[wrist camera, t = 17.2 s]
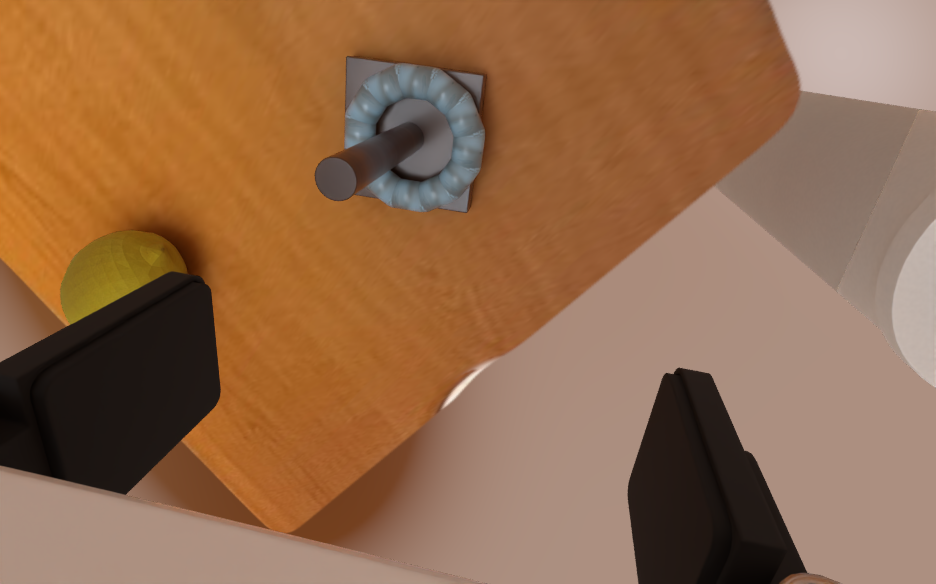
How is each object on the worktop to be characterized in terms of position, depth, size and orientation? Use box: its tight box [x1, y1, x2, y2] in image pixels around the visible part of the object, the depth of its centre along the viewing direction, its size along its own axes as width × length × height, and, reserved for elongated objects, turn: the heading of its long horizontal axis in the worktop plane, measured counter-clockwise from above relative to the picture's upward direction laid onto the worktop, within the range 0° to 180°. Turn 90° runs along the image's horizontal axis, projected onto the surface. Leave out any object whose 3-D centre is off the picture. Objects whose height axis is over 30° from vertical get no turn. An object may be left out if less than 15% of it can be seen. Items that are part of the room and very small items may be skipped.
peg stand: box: [315, 56, 487, 213], centre depth 30 cm, size 9×9×14 cm
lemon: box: [60, 230, 188, 325], centre depth 41 cm, size 11×8×8 cm
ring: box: [344, 63, 485, 212], centre depth 35 cm, size 9×9×2 cm
